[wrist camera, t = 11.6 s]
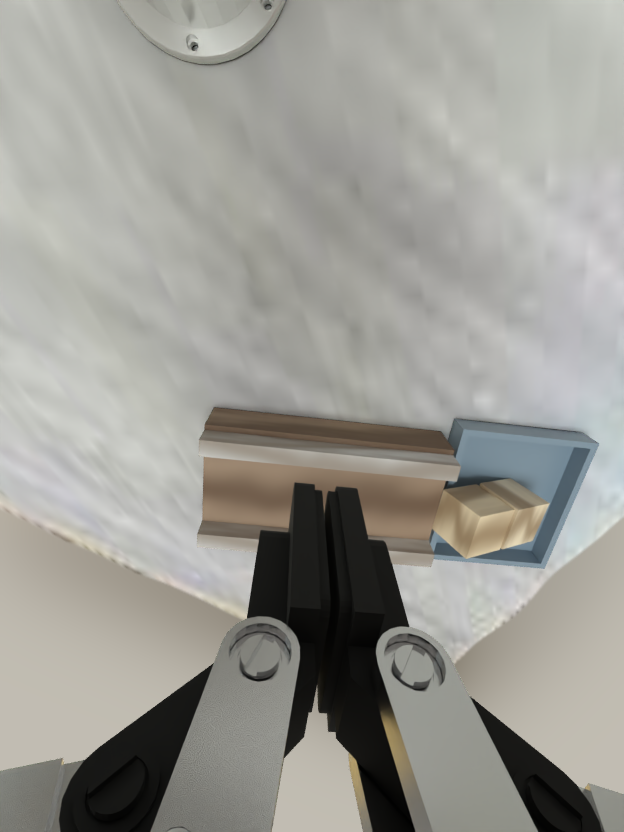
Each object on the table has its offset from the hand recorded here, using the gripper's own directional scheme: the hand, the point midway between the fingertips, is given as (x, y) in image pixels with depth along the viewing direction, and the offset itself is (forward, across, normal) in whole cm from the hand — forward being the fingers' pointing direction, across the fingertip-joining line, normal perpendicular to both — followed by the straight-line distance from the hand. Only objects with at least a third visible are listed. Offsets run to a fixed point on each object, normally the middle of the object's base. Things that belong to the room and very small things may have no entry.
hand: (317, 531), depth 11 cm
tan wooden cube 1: (+24, -16, +15) cm, 32 cm away
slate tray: (+27, -22, +14) cm, 37 cm away
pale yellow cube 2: (+22, -19, +14) cm, 33 cm away
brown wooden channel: (+27, -3, +14) cm, 30 cm away
